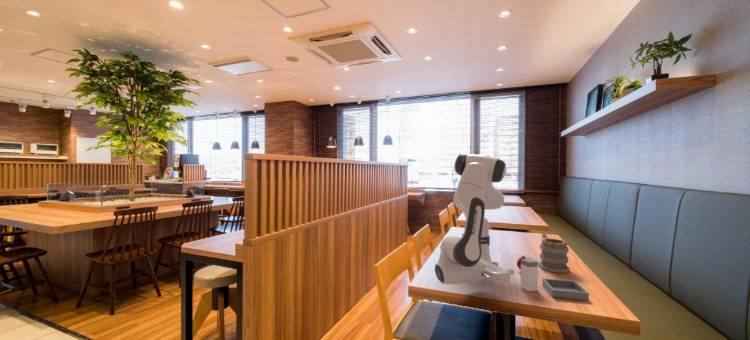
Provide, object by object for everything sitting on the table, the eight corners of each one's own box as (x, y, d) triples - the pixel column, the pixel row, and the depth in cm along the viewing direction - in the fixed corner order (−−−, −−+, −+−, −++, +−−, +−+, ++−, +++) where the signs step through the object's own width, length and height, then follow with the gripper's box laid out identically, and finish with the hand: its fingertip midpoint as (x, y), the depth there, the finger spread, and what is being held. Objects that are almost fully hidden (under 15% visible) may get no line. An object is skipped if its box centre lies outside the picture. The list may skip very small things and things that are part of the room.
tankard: (573, 274, 145) (573, 242, 145) (544, 272, 148) (544, 241, 147) (557, 260, 165) (557, 233, 164) (531, 259, 167) (532, 232, 167)
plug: (528, 291, 125) (528, 262, 125) (520, 287, 130) (520, 259, 129) (537, 290, 126) (537, 261, 126) (529, 286, 131) (529, 258, 130)
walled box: (552, 297, 119) (552, 290, 119) (542, 285, 132) (542, 278, 132) (588, 300, 117) (588, 293, 117) (574, 287, 129) (574, 280, 129)
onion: (532, 273, 146) (533, 256, 146) (523, 274, 144) (523, 257, 144) (523, 269, 151) (524, 253, 151) (514, 270, 150) (514, 254, 150)
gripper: (491, 271, 111) (523, 268, 114) (461, 255, 130) (489, 253, 134) (491, 288, 111) (523, 285, 114) (461, 270, 130) (489, 267, 134)
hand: (504, 267), depth 124 cm, fingers open, 8 cm apart
